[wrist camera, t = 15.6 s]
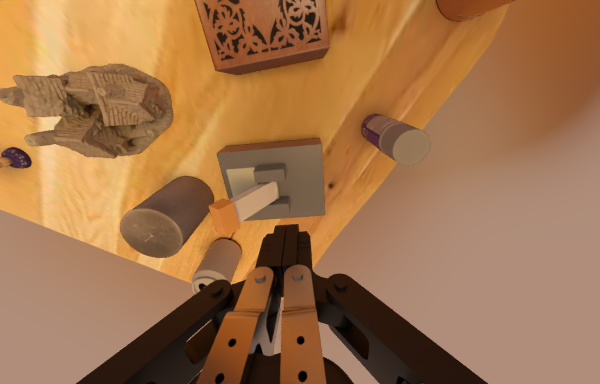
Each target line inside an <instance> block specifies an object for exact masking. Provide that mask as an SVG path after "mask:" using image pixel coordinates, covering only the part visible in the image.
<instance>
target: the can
mask: <svg viewBox="0 0 600 384" xmlns="http://www.w3.org/2000/svg"><path fill="white" fill-rule="evenodd" d="M240 257H241V249H240V247H239V246H238V245H237V244H236V243H235V242H233V241H231V240H227V239H220V240H216V241H215V242H213V243H212V245H211V246H210V248H209V250H208V252H207V253H206V255H205V257H204V258H203V260H202V262H201V263H200V265H199V267H198V268H197V270H196V272H195V274H194V275H193V277H192V291H193V292H194V294H197V293H198V292H199V291H201V290H202V289H203V288H205V287H206V286H207V285H209V284H210V283H211V282H213V281H216V280H220V279H225V280H227V281H229V282H230V284H231V281H232V278H233V276H234V273H235V270H236V268H237V265H238V262H239V260H240Z"/></svg>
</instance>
